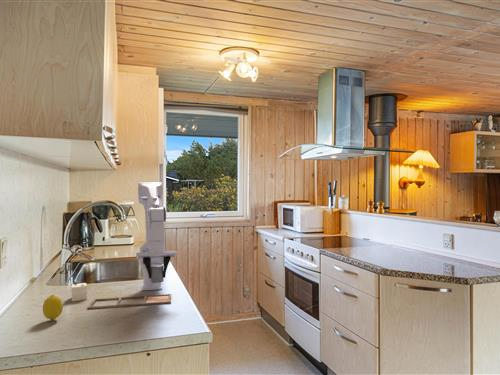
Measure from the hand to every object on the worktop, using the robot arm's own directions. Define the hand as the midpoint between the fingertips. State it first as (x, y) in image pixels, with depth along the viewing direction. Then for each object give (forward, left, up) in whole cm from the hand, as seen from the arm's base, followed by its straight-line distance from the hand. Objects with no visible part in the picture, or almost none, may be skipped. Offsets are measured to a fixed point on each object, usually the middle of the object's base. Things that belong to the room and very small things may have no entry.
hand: (157, 277), depth 135 cm
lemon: (+14, -31, -9) cm, 35 cm away
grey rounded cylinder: (0, 0, -1) cm, 1 cm away
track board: (0, -9, -8) cm, 12 cm away
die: (-9, -29, -8) cm, 31 cm away
